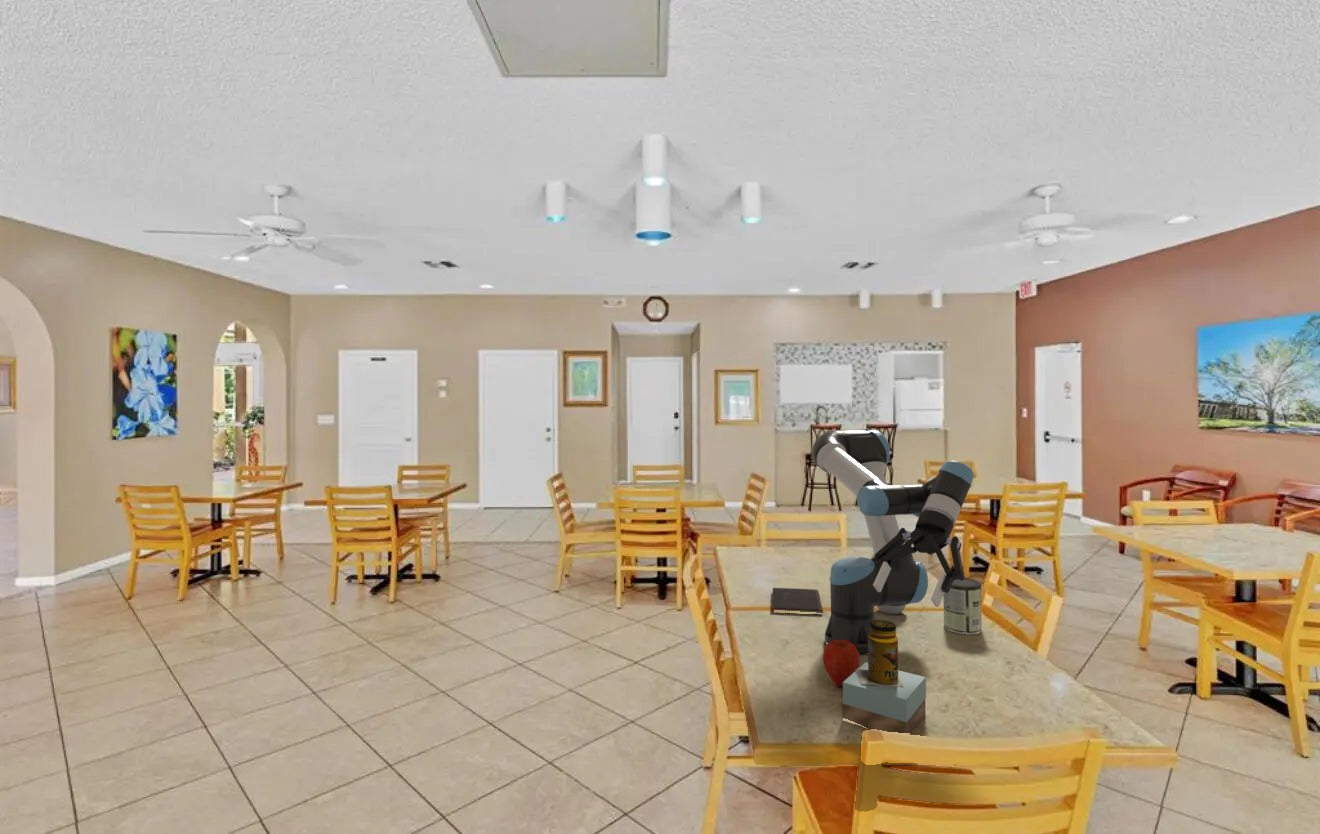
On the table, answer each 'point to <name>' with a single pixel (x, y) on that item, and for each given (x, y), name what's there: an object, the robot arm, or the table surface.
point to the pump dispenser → (892, 608)
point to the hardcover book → (796, 600)
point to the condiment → (881, 656)
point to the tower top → (886, 695)
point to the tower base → (883, 719)
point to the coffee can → (963, 607)
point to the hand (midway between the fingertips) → (904, 595)
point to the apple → (840, 660)
